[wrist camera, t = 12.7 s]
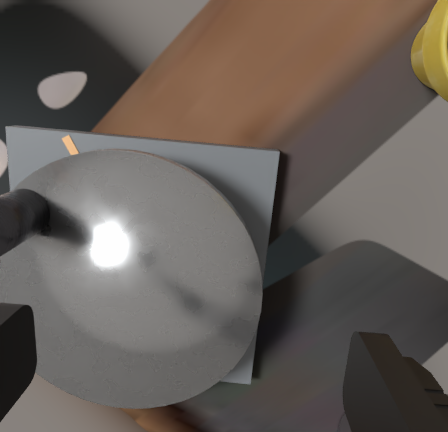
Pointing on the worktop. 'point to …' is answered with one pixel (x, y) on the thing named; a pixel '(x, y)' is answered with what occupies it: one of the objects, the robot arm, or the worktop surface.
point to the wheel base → (183, 154)
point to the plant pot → (433, 51)
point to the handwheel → (129, 276)
